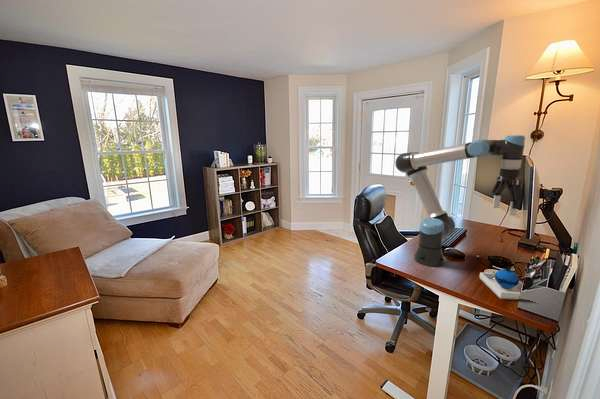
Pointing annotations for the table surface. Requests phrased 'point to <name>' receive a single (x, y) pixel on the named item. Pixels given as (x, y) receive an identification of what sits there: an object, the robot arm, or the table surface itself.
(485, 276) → the bin
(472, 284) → the table surface
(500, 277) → the ornament
